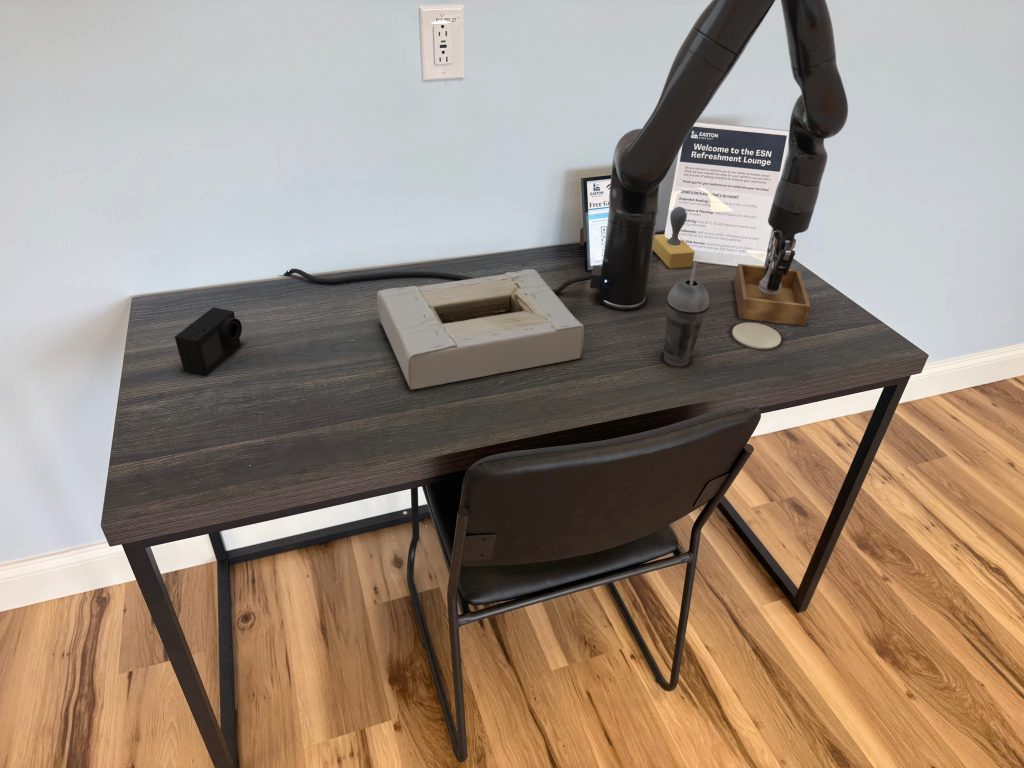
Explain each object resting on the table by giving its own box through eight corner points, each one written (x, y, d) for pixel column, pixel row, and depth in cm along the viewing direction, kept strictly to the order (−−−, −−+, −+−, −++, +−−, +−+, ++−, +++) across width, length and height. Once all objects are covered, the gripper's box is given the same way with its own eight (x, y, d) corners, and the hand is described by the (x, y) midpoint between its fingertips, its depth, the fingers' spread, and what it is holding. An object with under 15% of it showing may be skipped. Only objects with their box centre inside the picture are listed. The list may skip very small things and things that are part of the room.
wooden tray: (738, 318, 144) (743, 298, 142) (733, 282, 157) (738, 263, 154) (804, 326, 142) (811, 306, 140) (794, 288, 155) (799, 270, 152)
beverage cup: (699, 353, 133) (721, 252, 122) (694, 374, 128) (716, 271, 116) (659, 345, 135) (677, 245, 123) (652, 365, 129) (670, 263, 118)
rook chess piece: (781, 289, 149) (792, 253, 144) (778, 298, 146) (789, 261, 141) (759, 283, 150) (769, 248, 146) (755, 292, 147) (765, 256, 142)
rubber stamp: (651, 249, 169) (659, 199, 162) (674, 247, 170) (683, 198, 163) (668, 268, 161) (677, 217, 154) (692, 266, 162) (702, 215, 155)
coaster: (733, 346, 136) (734, 344, 135) (730, 321, 143) (730, 320, 143) (783, 352, 135) (784, 350, 134) (777, 327, 142) (778, 325, 142)
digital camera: (211, 377, 122) (202, 342, 118) (183, 371, 123) (173, 336, 119) (247, 346, 130) (240, 311, 126) (220, 340, 132) (212, 306, 127)
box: (533, 298, 148) (377, 322, 138) (536, 264, 144) (374, 286, 133) (583, 360, 131) (409, 393, 121) (588, 324, 126) (407, 354, 116)
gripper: (769, 187, 143) (748, 266, 153) (778, 214, 132) (754, 298, 142) (808, 191, 142) (785, 270, 152) (820, 219, 131) (794, 303, 141)
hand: (770, 283), depth 147 cm, fingers closed on rook chess piece, 4 cm apart
